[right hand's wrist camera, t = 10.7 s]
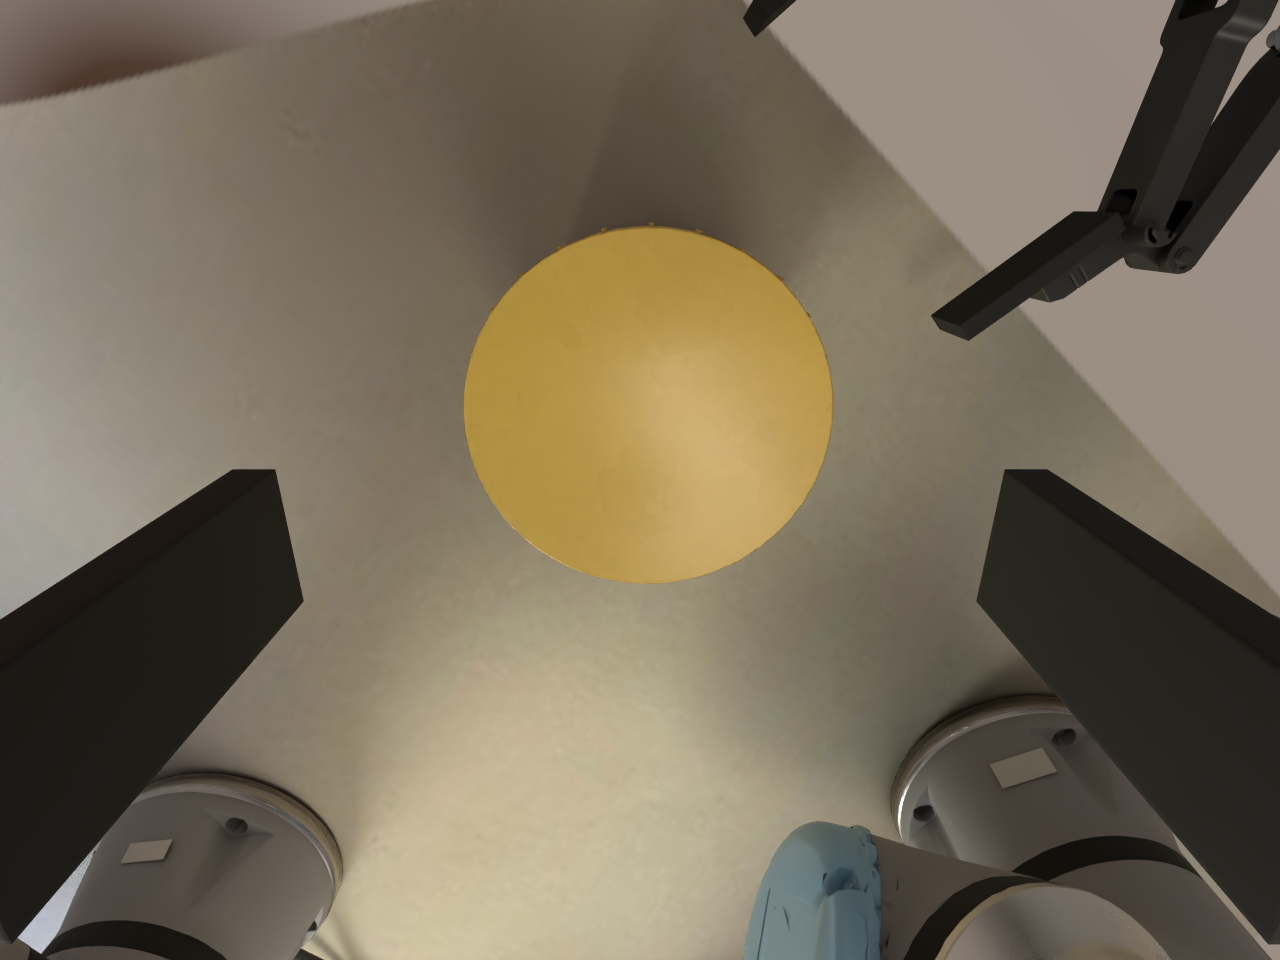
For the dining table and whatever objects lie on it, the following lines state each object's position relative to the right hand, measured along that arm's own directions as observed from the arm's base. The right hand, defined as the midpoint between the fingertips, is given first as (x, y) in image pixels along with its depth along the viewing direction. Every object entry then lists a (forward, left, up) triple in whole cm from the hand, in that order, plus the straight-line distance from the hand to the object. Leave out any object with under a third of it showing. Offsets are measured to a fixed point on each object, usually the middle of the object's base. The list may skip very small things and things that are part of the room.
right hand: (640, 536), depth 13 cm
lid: (0, 0, -8) cm, 8 cm away
